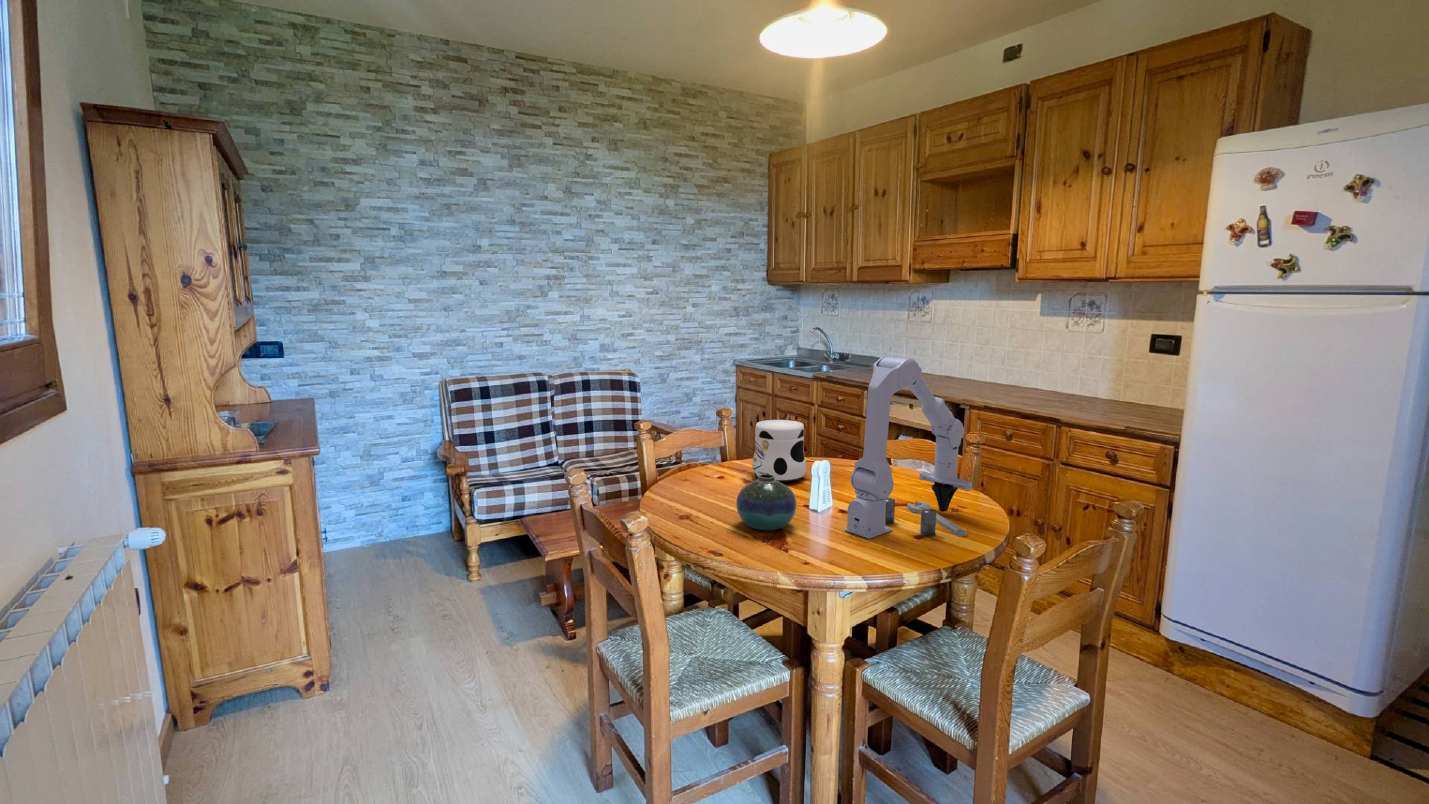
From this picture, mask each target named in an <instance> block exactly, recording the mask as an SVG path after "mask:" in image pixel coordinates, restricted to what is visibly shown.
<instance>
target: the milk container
mask: <svg viewBox="0 0 1429 804" xmlns="http://www.w3.org/2000/svg"><path fill="white" fill-rule="evenodd" d="M754 432H755V434H754V435H755V436H754V439H755V440H754V442H755V444H754V445H755V446H754V447H755V450H754V454H753V457H752V462H751V463H752V472H753V474H754V475H755V477H756V478H757V479H758V478H759V475H763V474H770V475H773V476H774V477H775V480H777V481H779V482H781V483H790V482H794V481H795V482H796V481H798V480H800V479H802V478H803V477H804V476H805V474H806V471H807V460H806V455H805V450H804V449H805V448H804V447H805V446H804V445H805V436H804V434H805V427H804V423H802V422H801V421H795V420H789V419H768V420H761V421H758V422H756V424H755V431H754Z"/></svg>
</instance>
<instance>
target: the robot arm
mask: <svg viewBox="0 0 1429 804" xmlns="http://www.w3.org/2000/svg"><path fill="white" fill-rule="evenodd" d="M922 373H923V369H922V368H921V367H920V366H919V363H918V362H917V361H916V360H915V359H914V358H902V357H891V356H886V355H885V356H882V357H880V358H879V359H878V360H876V361H875V362H874V363H873V366H872V374H871V375H872V376H871V379H870V382H869V384H868V390H867V402H866V415H865V428H864V441H863V453H862V454H863V456H862V457H861V458H859V459H858V460H856V461H855V462H854V468H853V471H852V473H851V476H850V484H851V487H852V488H853V489H854V494H856V496H855V498H854V499H853V500H852V501H850V503H848V506H847V519H846V520H847V521H846V527H844V531H846V532H849V533H852V534H855V535H857V536H861V537H863V538H866V539H873V538H875V537H878V536H880V535H883V534H886V533H888V532H891V531H893V527H892V528H891V527H890V526H886V524H885V514H886V499H887V498H889V496H890V495H891V494H892V492H893V489H894V488H895V487H894V485H895V484H894V479H893V475H892V474H893V468H892V467H891V465H890V464H889V462H888V459H887V449H888V437H889V436H888V435H889V423H890V412H891V411H890V410H891V401H892V400H891V398H892V396H893V395H895V394H896V393H897V392H899V391H901V390H903V389H905V388H908V389H909V390H910V392H911V393H912V394H913V395H914V396H915V397H916V399H917V400H918V401H919V402H920V404H921V409H920V410H921V412H922V414H923V415H924V416H925V417H926V419H927V421H928V423H930V426H931V427H930V430H931V433H932V435H934V436H935V453H934V457H935V458H934V470H933V471H934V472H926V471H921V472H919V475H918V476H919V477H918V479H919V480H920V481H927V482H931V483H933V484H932V485H931V490H932V491H933V492H934V496H935V498H936V502H937V506H938V511H939V512H943V513H944V512H947V511H948V510H949V506H950V503H951V501H952V499H953V497H954V495H955V494H956V492H957V491H958V489H961V490H964V491H966V492H969V491H973V482H972V481H971V482H970V481H967V480H964V479H963V478H962V479H961V478H959V477H958V475H957V474H958V462H959V447H960V446H961V443H962V438H963V436H964V433H965V430H966V429H965V428H964V424H963V423H962V422H961V420H960V419H958V418H955V417H954V415H953V413H952V411H950V410H949V408H948V407H947V405H946V404H945V403H946V401H945V399H943V398H940V397H939V396H938V397H937V396H934V394H933V392H932V391H931V389H930V387H929V385H928V384H927V382H926V380H925V379H924V377H923V376H922V375H923V374H922Z"/></svg>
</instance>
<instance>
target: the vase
mask: <svg viewBox="0 0 1429 804" xmlns="http://www.w3.org/2000/svg"><path fill="white" fill-rule="evenodd" d="M735 503H736V504H735V505H736V506H735V508H736V511H737V515H738V517H739V518H740V520H741V521H742V522H743V523H744V524H745V525H747V526H748V527H750V528H752V529H754V530H759V531H765V532H766V531H776V530H777V531H778V530H780V529H782V528H785V527H786V526H787V525H788V524H790V523H791V521H792V520H793V518H794V517H795V514H796V511H797V505H798V503H797V499H796V495H795V493H794V492H793V490H792V489H791V488H790V487H789V486H787V485H786V484H784V482H779V481H777V480H775V477H774V476H773V475H770V474H763V475H759V478H758V477H757V479H756V480H753V481H751V482H749V483H748V484H747V485H744V486H743V487H742V488H741V489H740V491H739V492H738V494H737V496H736V502H735Z"/></svg>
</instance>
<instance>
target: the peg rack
mask: <svg viewBox="0 0 1429 804" xmlns="http://www.w3.org/2000/svg"><path fill="white" fill-rule="evenodd" d="M895 511H896V499H895V498H892V497H888V498H887V499H886V514H885V525H893V524H895ZM936 513H937V510H935V509H933V508H931V509H922V510H921V514H920V527H919V535H920V536H922V537H926V538H931V537H933V538H934V537H935V536H936V530H937V528H936V527H937V523H936Z"/></svg>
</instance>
